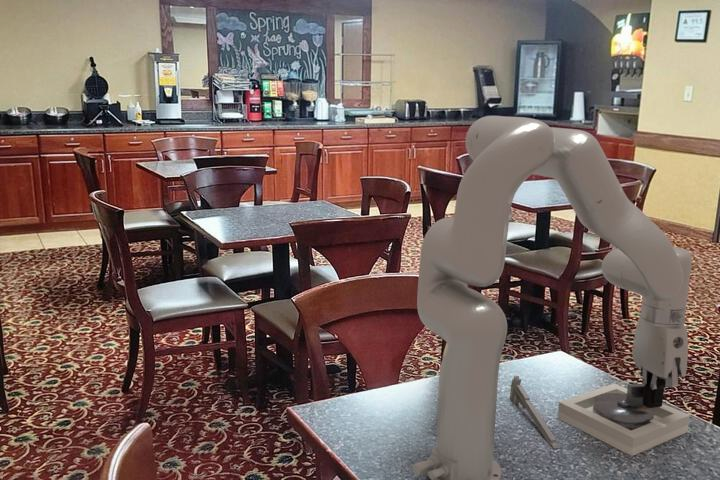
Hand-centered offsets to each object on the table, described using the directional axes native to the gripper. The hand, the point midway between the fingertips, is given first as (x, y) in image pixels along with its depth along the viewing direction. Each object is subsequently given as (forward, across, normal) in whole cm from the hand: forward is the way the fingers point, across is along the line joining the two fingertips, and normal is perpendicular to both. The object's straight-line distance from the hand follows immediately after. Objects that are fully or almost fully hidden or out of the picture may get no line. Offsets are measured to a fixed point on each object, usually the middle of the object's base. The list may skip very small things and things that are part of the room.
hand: (652, 405), depth 131 cm
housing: (+5, +3, +4) cm, 7 cm away
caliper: (+6, +8, +20) cm, 23 cm away
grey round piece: (+4, +3, +4) cm, 6 cm away
